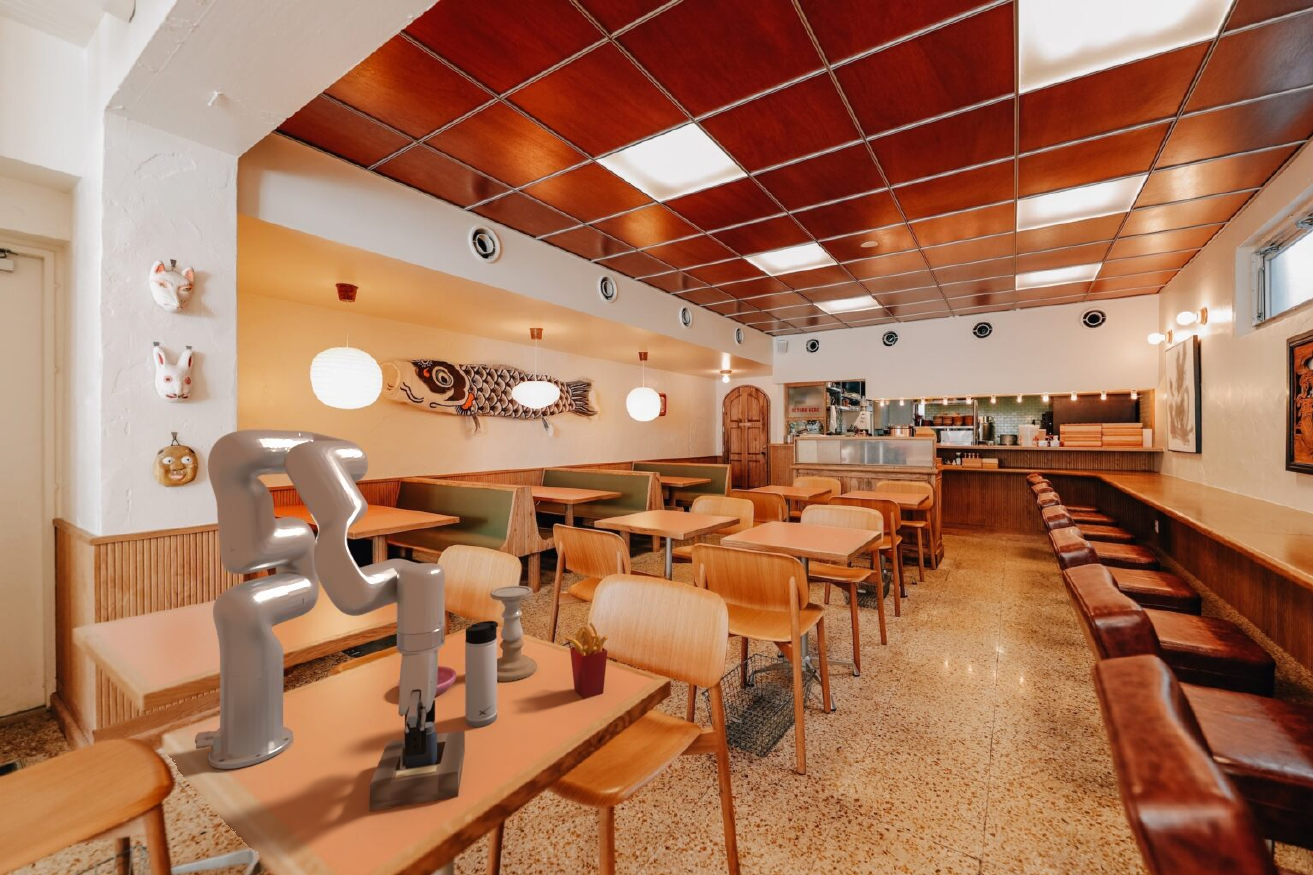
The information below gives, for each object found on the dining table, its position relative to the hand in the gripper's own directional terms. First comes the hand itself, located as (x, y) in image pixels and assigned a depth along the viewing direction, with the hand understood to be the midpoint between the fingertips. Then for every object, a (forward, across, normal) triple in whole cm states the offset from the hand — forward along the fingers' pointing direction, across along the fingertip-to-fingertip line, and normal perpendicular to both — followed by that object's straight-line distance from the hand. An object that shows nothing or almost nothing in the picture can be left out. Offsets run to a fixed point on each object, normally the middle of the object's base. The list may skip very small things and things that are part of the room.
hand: (420, 738), depth 92 cm
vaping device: (+6, 0, 0) cm, 6 cm away
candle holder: (+7, -41, +15) cm, 44 cm away
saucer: (+7, -36, -4) cm, 37 cm away
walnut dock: (+7, 0, 0) cm, 7 cm away
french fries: (+7, -25, +31) cm, 41 cm away
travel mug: (+7, -18, +9) cm, 21 cm away
